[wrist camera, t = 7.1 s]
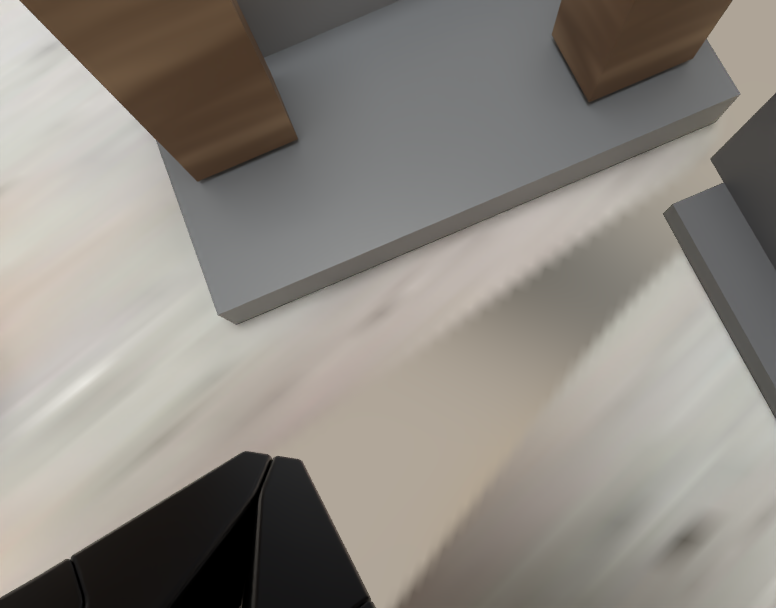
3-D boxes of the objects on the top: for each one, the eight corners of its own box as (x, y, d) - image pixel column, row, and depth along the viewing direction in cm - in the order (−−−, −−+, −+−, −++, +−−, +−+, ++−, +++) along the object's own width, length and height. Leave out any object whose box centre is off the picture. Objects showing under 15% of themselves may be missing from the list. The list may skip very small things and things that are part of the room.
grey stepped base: (715, 122, 23) (797, 30, 18) (236, 324, 23) (175, 293, 18) (596, -76, 26) (638, -211, 20) (159, 108, 26) (83, 23, 20)
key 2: (298, 139, 22) (138, -187, 10) (197, 181, 22) (-75, -97, 10) (270, 71, 23) (91, -306, 11) (172, 113, 23) (-110, -220, 11)
